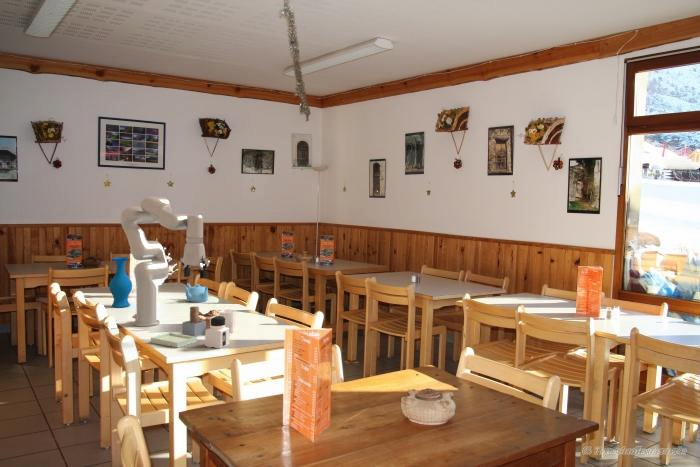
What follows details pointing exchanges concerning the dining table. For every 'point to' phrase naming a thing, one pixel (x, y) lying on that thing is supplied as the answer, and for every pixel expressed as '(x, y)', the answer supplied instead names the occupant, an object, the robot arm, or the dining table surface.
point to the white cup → (229, 318)
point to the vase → (120, 284)
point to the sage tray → (173, 339)
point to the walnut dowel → (194, 314)
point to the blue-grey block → (194, 328)
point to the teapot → (197, 293)
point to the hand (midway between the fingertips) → (194, 277)
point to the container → (217, 333)
